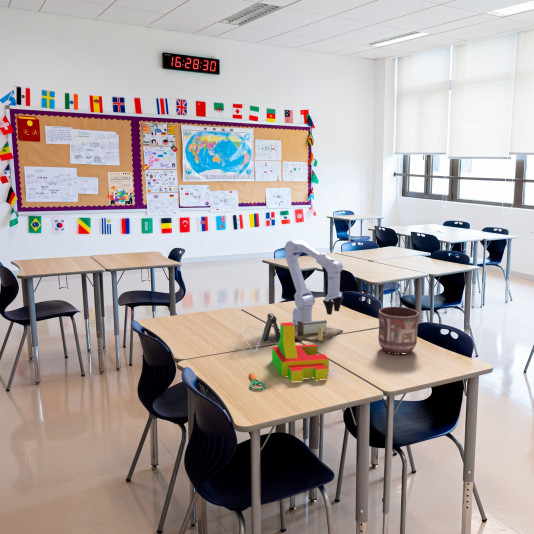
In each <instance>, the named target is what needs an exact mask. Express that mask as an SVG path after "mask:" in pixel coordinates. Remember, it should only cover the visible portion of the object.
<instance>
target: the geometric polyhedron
mask: <svg viewBox="0 0 534 534" xmlns="http://www.w3.org/2000/svg"><path fill="white" fill-rule="evenodd" d="M246 328H247V330H248V331H245V330H246ZM249 328H250V329H255V330H253V331H252V330H250V329H249ZM259 331H261V332H262V334H261V336H260V338H259V340H258V341H257V339H256V337H255V336H254V334H253V333H254V332H255V333H256V332H259ZM248 332H249V333H250V334H251V336H253V339H255V341H256V343H257V344H256V345H255V350H254V349H253V348H252V345H250V343H249V342H248V341H247V339H246V338H245V337H244V334H245V333H248ZM263 333H264V329H260V328H256V327H251V326H248V325H246V326H244V328H243V329H242V330H241V331H240V333H239V336H238V341H237V346H236V348H237V349H238V350H239V349H240V350H243V351H245V352H246V351H247V352H250V353H253V354H255V353H256V352H257V350H258V349H259V348H260V347H261V343H262V341H263V339H262V338H261V337H262V336H263ZM242 338H243V339H244V340H245V342H246V343H247V345H248V346H245V348H250V350H252V351H250V350H247V349H243V348H242V346H239V345H240V343H241V340H242Z"/></svg>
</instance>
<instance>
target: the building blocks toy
mask: <svg viewBox="0 0 534 534" xmlns="http://www.w3.org/2000/svg"><path fill="white" fill-rule="evenodd" d="M279 325H280V329H279V331H280V340H279V341H278V344H277V346H272V347H271V362H272V364H273V363H274V364H273V365H274V367H275V369H276V368H277V369H276V370H277V372H278V371H279V372H278V374H279V373H280V374H281V375H280V374H279V375H280V377H281V376H282V377H285V376H288V377H289V378H288V377H287V378H288V380H289V379H290V380H291V382H292V381H303V382H304V380H303V378H312V377H314V379H315V380H320V379H327V380H328V374H327V373H330V366H329V365H330V358H328V356H327V354H325V353H323V354H322V353H321V354H318V345H317V344H315V343H313V344H298V345H296V341H295V339H296V338H295V335H296V334H295V333H296V329H295V327H296V325H294V324H293V321H291V322H290V321H289V322H280V324H279ZM282 377H281V378H282ZM285 378H286V377H285ZM314 379H313V380H314ZM290 380H289V381H290ZM315 380H314V381H315ZM291 382H290V383H291Z"/></svg>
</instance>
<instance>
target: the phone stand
mask: <svg viewBox="0 0 534 534" xmlns="http://www.w3.org/2000/svg"><path fill="white" fill-rule="evenodd" d="M272 327H273V331H274V334H275V336H270V334H271V330H272ZM263 330H264V333H263V332H262V333H263V336H262V337H261V336H260V338H262V341H263V342H265V343H266V341H270V342H279V340H280V329H279V326H278V324H277V317H276V316H275V315H274V313H272V312H271V313H268V314H267V320H266V322H265V326H264V328H263Z"/></svg>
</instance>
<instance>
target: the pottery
mask: <svg viewBox="0 0 534 534" xmlns="http://www.w3.org/2000/svg"><path fill="white" fill-rule="evenodd" d="M377 315H378V339H377V340H378V344H379V346H380V348H381V349H382V350H383V351H384V350H385V351H386V353H387V352H390V353H396V354H398V353H399V354H402V353H408V354H410V353H411V352H412V351H413V350H414V349H415V347H416V345H417V343H418V342H417V340H418V327H419V326H418V325H419V320H420V319H419V318H420V313H419V312H418V311H417V310H416V309H413V308H409V307H405V306H387V307H386V306H385V307H381V308H380V309H378V314H377ZM385 351H384V352H385ZM409 352H410V353H409ZM390 353H389V354H390Z"/></svg>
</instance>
